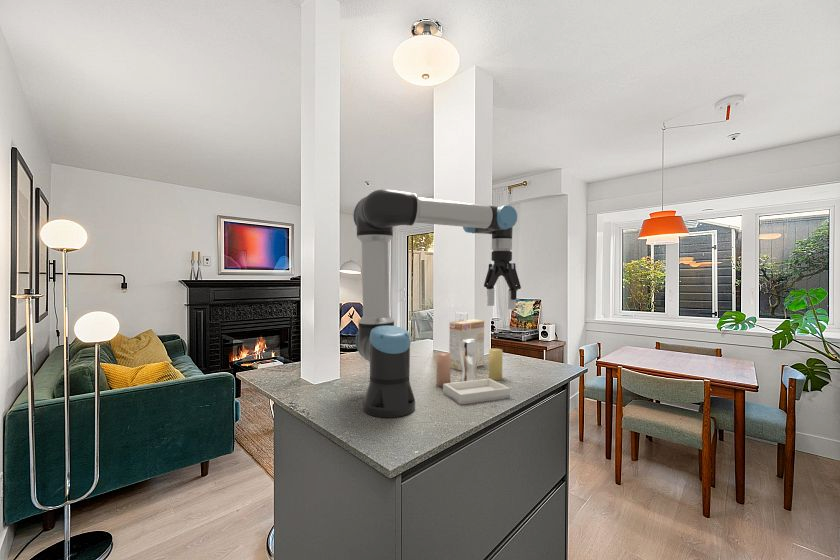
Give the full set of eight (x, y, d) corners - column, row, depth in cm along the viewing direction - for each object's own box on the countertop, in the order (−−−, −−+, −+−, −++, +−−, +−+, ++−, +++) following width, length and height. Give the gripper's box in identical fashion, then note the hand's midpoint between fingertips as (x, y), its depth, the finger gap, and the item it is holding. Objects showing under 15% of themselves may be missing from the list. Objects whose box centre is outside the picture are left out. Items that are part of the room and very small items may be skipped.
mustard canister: (493, 381, 138) (493, 351, 138) (486, 377, 142) (486, 348, 142) (504, 379, 140) (505, 350, 139) (497, 376, 144) (497, 347, 144)
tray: (460, 404, 113) (460, 394, 113) (443, 392, 124) (443, 383, 124) (509, 397, 119) (510, 388, 119) (489, 386, 131) (489, 378, 131)
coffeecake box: (472, 362, 167) (472, 318, 166) (484, 365, 161) (485, 320, 161) (448, 367, 157) (448, 321, 157) (460, 370, 152) (461, 323, 151)
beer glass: (472, 384, 133) (472, 342, 133) (455, 381, 137) (456, 340, 137) (481, 380, 138) (482, 340, 138) (465, 377, 143) (465, 338, 142)
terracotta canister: (440, 387, 129) (440, 356, 129) (434, 383, 134) (434, 353, 134) (452, 385, 131) (453, 354, 131) (446, 382, 136) (446, 352, 136)
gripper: (531, 249, 129) (530, 310, 129) (491, 252, 152) (490, 304, 153) (513, 248, 126) (512, 310, 127) (475, 251, 149) (474, 304, 150)
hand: (500, 307), depth 140 cm, fingers open, 13 cm apart
